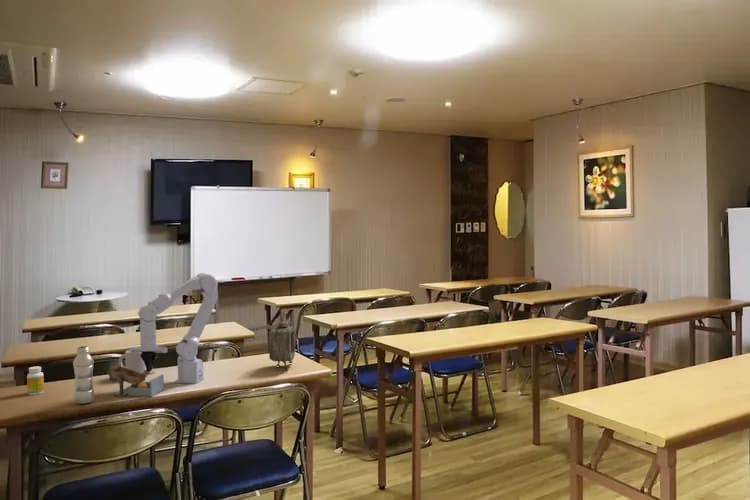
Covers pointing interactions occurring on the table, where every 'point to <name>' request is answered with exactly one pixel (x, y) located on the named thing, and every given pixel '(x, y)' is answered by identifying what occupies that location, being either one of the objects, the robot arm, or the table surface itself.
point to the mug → (133, 361)
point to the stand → (122, 391)
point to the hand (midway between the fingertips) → (149, 370)
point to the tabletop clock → (282, 342)
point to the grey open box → (148, 388)
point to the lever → (128, 375)
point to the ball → (142, 385)
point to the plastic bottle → (83, 376)
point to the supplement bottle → (35, 381)
